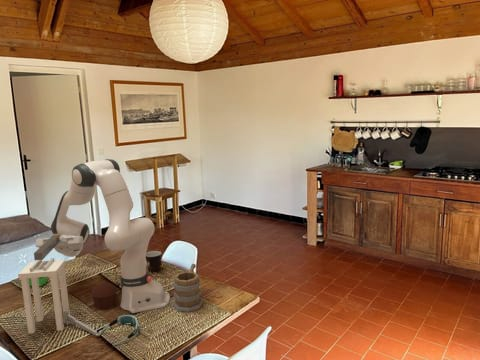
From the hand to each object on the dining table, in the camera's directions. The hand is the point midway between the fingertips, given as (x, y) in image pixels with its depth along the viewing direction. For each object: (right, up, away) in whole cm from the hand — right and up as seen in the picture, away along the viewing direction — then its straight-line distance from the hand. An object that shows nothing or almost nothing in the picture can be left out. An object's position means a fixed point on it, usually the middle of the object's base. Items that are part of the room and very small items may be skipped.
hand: (54, 239), depth 169 cm
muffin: (+21, -31, +5) cm, 38 cm away
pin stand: (+3, -34, -11) cm, 36 cm away
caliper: (+18, -35, -15) cm, 42 cm away
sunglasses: (+35, -36, -19) cm, 54 cm away
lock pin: (+1, -3, -7) cm, 8 cm away
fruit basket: (-23, -29, +27) cm, 46 cm away
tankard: (+60, -30, +6) cm, 68 cm away
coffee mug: (+36, -25, +40) cm, 59 cm away
